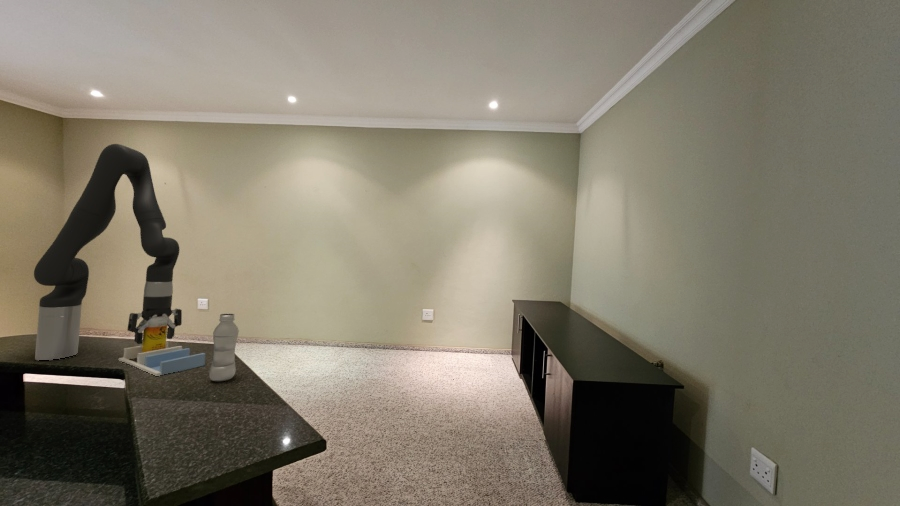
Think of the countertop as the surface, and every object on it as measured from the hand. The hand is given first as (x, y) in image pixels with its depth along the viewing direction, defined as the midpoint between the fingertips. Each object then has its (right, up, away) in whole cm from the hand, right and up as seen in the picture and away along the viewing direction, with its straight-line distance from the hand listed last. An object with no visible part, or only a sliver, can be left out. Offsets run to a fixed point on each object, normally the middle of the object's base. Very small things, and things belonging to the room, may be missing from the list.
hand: (154, 341), depth 115 cm
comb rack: (+6, -7, -3) cm, 9 cm away
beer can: (0, -6, 0) cm, 6 cm away
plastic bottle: (+33, -9, -14) cm, 37 cm away
